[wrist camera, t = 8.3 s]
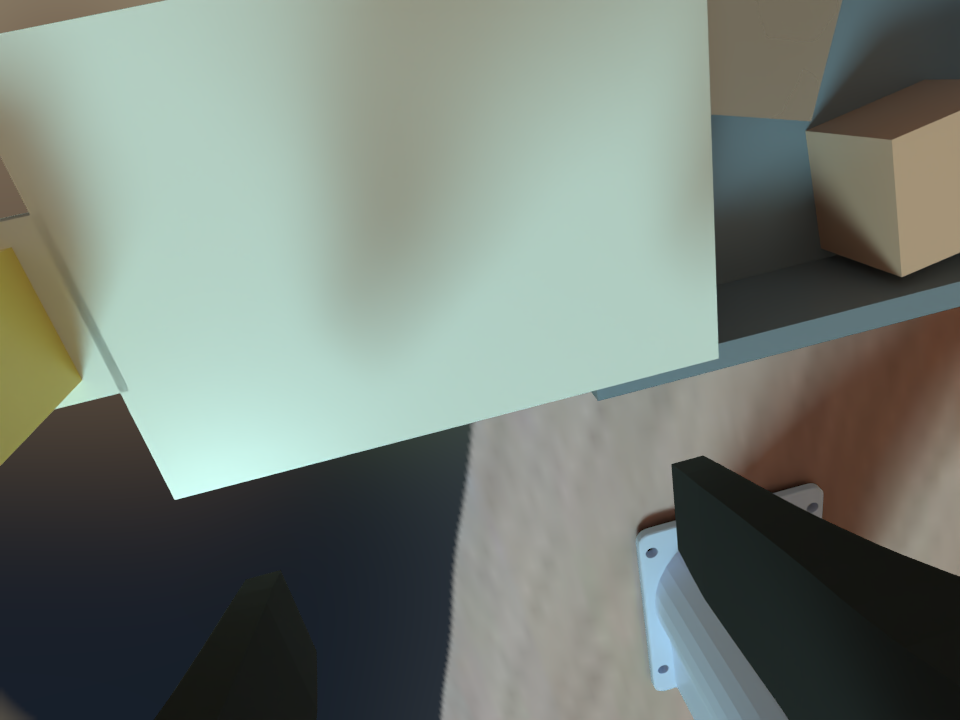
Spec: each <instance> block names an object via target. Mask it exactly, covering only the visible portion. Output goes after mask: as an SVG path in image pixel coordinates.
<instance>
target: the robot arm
mask: <svg viewBox="0 0 960 720" xmlns="http://www.w3.org/2000/svg"><path fill="white" fill-rule="evenodd" d="M672 478H673V491H674V504H675V518H676V520H675V521H671V522H668V523H664V524H661V525H657V526H653V527H650V528H646V529H644V530H642V531H641V532H640V533H639V534H638V535H637V537H636V548H637V557H638V566H639V575H640V583H641V592H642V601H643V610H644V619H645V628H646V637H647V646H648V655H649V663H650V672H651V681H652V683H653V685H654V687H655V689H657V690H659V691H665V690H669V689H672V688H675V687H678V689H679V691H680V693H681V695H682V697H683V699H684V701H685V703H686V705H687V707H688V709H689V710H690V712H691V714H692V716H693V718H694V720H960V576H957V575H954V574H951V573H948V572H946V571H943V570H940V569H938V568H935V567H933V566H930V565H928V564H925V563H922V562H920V561H917V560H915V559H912V558H909V557H907V556H904V555H902V554H899V553H897V552H894V551H892V550H890V549H887V548H885V547H882V546H880V545H878V544H875V543H873V542H871V541H869V540H867V539H864V538H862V537H860V536H858V535H856V534H853V533H851V532H849V531H847V530H845V529H842V528H840V527H838V526H836V525H834V524H832V523H830V522H828V521H826V520H824V519H822V513H823V491H822V489H821V488H819V487H818V486H817V485H816V484H814V483H808V484H804V485H801V486H797V487H794V488H790V489H786V490H783V491H779V492H776V493H771V492H769V491H767V490H765V489H764V488H762V487H760V486H758V485H756V484H754V483H753V482H751V481H749V480H747V479H745V478H744V477H742V476H740V475H738V474H736V473H734V472H733V471H731V470H729V469H727V468H725V467H724V466H722V465H720V464H718V463H716V462H714V461H712V460H711V459H709V458H707V457H705V456H700V457H696V458H693V459H689V460H685V461H682V462H678V463H674V464H672ZM809 504H810V505H809ZM650 548H653V549H652V550H650V551H647V550H648V549H650ZM316 654H317V653H316V649H315V647H314V645H313V642H312V640H311V638H310V635H309V633H308V631H307V629H306V626H305V624H304V622H303V620H302V617H301V615H300V613H299V611H298V608H297V606H296V604H295V602H294V600H293V597H292V595H291V593H290V590H289V588H288V586H287V584H286V581H285V579H284V577H283V575H282V573H281V570H280V571H276V572H272V573H269V574H265V575H261V576H258V577H254V578H250V579H246V580H245V582H244V583H243V585H242V587H241V588H240V590H239V591H238V593H237V594H236V596H235V597H234V599H233V600H232V602H231V604H230V605H229V607H228V608H227V610H226V611H225V613H224V615H223V616H222V618H221V619H220V621H219V623H218V624H217V626H216V627H215V629H214V630H213V632H212V634H211V635H210V637H209V638H208V640H207V641H206V643H205V645H204V646H203V648H202V649H201V651H200V652H199V654H198V656H197V657H196V659H195V660H194V662H193V663H192V665H191V666H190V668H189V669H188V671H187V672H186V674H185V675H184V677H183V679H182V680H181V681H180V683H179V684H178V686H177V688H176V689H175V691H174V692H173V693H172V695H171V696H170V698H169V699H168V701H167V702H166V704H165V705H164V706H163V708H162V709H161V711H160V712H159V713H158V715H157V716H156V717H155V719H154V720H316V718H317V657H316V656H317V655H316Z"/></svg>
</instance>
